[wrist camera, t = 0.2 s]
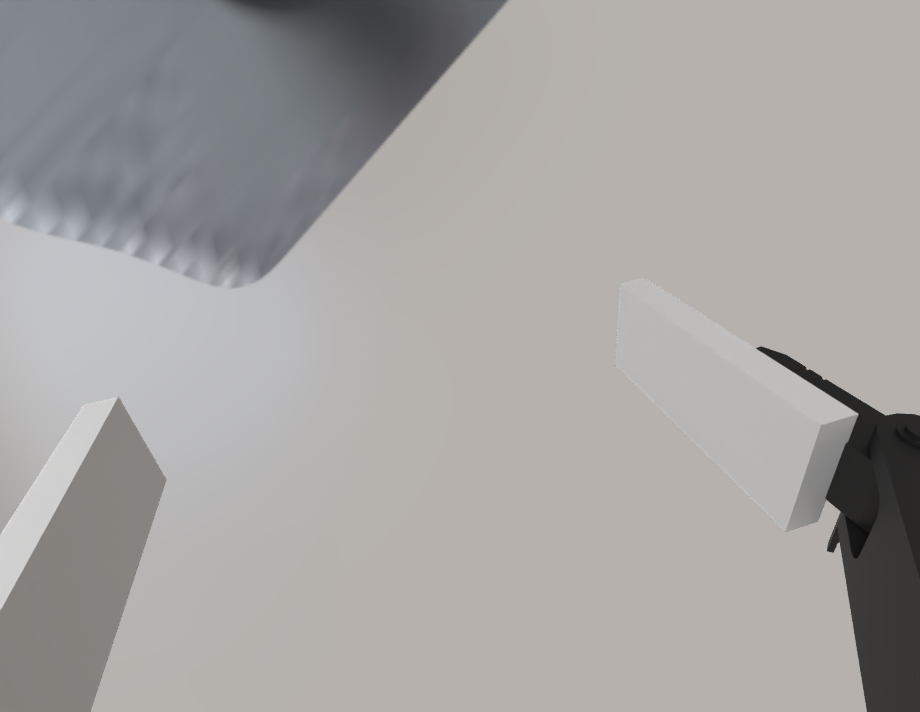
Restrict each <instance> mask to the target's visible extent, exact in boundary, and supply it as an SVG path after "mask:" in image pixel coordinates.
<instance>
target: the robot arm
mask: <svg viewBox="0 0 920 712" xmlns="http://www.w3.org/2000/svg"><path fill="white" fill-rule="evenodd" d="M615 363H616V364H615V366H616V367H617V368H618V369H619V370H620V371H621V372H622V373H623V374H625V375H626V376H627V377H628V378H629V379H630V380H631V381H632V382H633V383H634V384H635V385H636V386H637V387H638V388H639V389H640V390H641V391H642V392H643V393H644V394H645V395H646V396H647V397H648V398H649V399H650V400H651V401H652V402H653V403H654V404H655V405H656V406H657V407H658V408H659V409H660V410H661V411H662V412H663V413H664V414H666V416H667V417H668V418H669V419H670V420H672V421H673V422H674V423H675V424H676V425H677V426H678V427H679V428H680V429H681V430H682V431H683V432H684V433H685V434H686V435H687V436H688V437H689V438H690V439H691V440H692V441H693V442H694V443H695V444H696V445H697V446H698V447H699V448H700V449H701V450H702V451H703V452H704V453H705V454H706V455H707V456H708V457H709V458H710V459H711V460H712V461H713V462H714V463H716V464H717V466H719V468H720V469H722V470H723V472H725V473H726V474H727V475H728V476H729V477H730V478H731V479H732V480H733V481H734V482H735V483H736V484H737V485H738V486H739V487H740V488H741V489H742V490H743V491H744V492H745V493H746V494H747V495H748V496H749V497H750V498H751V499H752V500H753V501H754V502H755V503H756V504H757V505H758V506H759V507H760V508H761V509H762V510H763V511H764V512H765V513H766V514H767V515H768V516H770V518H771V519H772V520H773V521H775V522H776V523H777V524H778V525H779V526H780V527H781V528H782V529H783V530H784V531H785V532H788V531H791V530H794V529H797V528H800V527H803V526H806V525H809V524H812V523H815V522H818V520H819V518H820V515H821V512H822V510H823V507H824V504H825V502H826V499H827V500H828V501H829V502H830V503H831V504H832V505H834V506H835V507H836V508H837V509H838V510H840V511H841V513H840V515H839V517H838V520H837V522H836V525H835V527H834V530H833V532H832V535H831V537H830V540H829V542H828V547H827V551H829V552H834V550H835V548H836V545H837V543H839V542H840V547H841V553H842V558H843V565H844V572H845V578H846V584H847V590H848V596H849V603H850V609H851V615H852V621H853V627H854V634H855V640H856V646H857V652H858V658H859V665H860V671H861V677H862V683H863V689H864V696H865V702H866V708H867V712H920V416H918V415H914V414H892V415H887V416H885V415H884V414H882V413H880V412H879V411H877V410H875V409H874V408H872V407H870V406H869V405H867V404H866V403H864V402H862V401H861V400H859V399H857V398H856V397H854V396H853V395H851V394H849V393H848V392H846V391H844V390H843V389H841V388H839V387H837V386H836V385H834V384H833V383H831V382H830V381H828V380H823V379H822V377H821V376H820V375H818V374H816V373H815V372H813V371H812V370H807V369H806V367H805V366H803V365H802V364H800V363H799V362H797V361H795V360H794V359H792V358H790V357H788V356H787V355H785V354H782V353H779V352H776V351H773V350H770V349H767V348H764V347H758V348H754V347H753V346H751V345H749V344H748V343H746V342H745V341H743V340H742V339H740V338H738V337H737V336H735V335H734V334H732V333H731V332H729V331H727V330H726V329H724V328H723V327H721V326H720V325H718V324H717V323H715V322H713V321H712V320H710V319H709V318H707V317H706V316H704V315H702V314H701V313H699V312H697V311H696V310H695V309H693V308H691V307H690V306H688V305H687V304H685V303H684V302H682V301H680V300H679V299H677V298H676V297H674V296H673V295H671V294H669V293H668V292H666V291H665V290H663V289H662V288H660V287H659V286H657V285H655V284H654V283H652V282H651V281H649V280H647V279H646V278H641V279H636V280H632V281H627V282H623V283H620V290H619V309H618V326H617V344H616V362H615ZM165 483H166V478H165V476H164V475H163V473H162V471H161V469H160V468H159V466H158V464H157V463H156V461H155V459H154V457H153V456H152V454H151V452H150V451H149V449H148V447H147V445H146V443H145V442H144V440H143V438H142V437H141V435H140V433H139V431H138V430H137V428H136V426H135V425H134V423H133V421H132V419H131V418H130V416H129V414H128V412H127V411H126V409H125V407H124V405H123V404H122V402H121V400H120V398H119V397H115V398H111V399H106V400H101V401H97V402H93V403H88V404H84V405H83V406H82V408H81V410H80V411H79V413H78V414H77V416H76V418H75V419H74V421H73V422H72V424H71V425H70V427H69V428H68V430H67V431H66V433H65V435H64V436H63V438H62V439H61V441H60V442H59V444H58V446H57V447H56V449H55V450H54V452H53V453H52V455H51V456H50V458H49V460H48V461H47V463H46V464H45V466H44V468H43V469H42V471H41V472H40V474H39V475H38V477H37V478H36V480H35V481H34V483H33V485H32V486H31V488H30V489H29V491H28V492H27V494H26V496H25V497H24V499H23V500H22V502H21V503H20V505H19V506H18V508H17V510H16V511H15V513H14V514H13V516H12V518H11V519H10V521H9V522H8V524H7V525H6V527H5V528H4V530H3V532H2V533H1V535H0V712H90V711H91V708H92V705H93V702H94V699H95V696H96V693H97V690H98V687H99V684H100V681H101V678H102V674H103V672H104V668H105V665H106V662H107V660H108V656H109V653H110V650H111V647H112V644H113V641H114V638H115V635H116V632H117V629H118V626H119V623H120V620H121V617H122V613H123V611H124V607H125V605H126V601H127V599H128V595H129V592H130V589H131V586H132V583H133V580H134V577H135V574H136V571H137V568H138V565H139V562H140V559H141V556H142V553H143V549H144V547H145V544H146V540H147V538H148V534H149V531H150V528H151V525H152V522H153V519H154V516H155V513H156V510H157V507H158V504H159V501H160V498H161V495H162V492H163V488H164V485H165Z"/></svg>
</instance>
